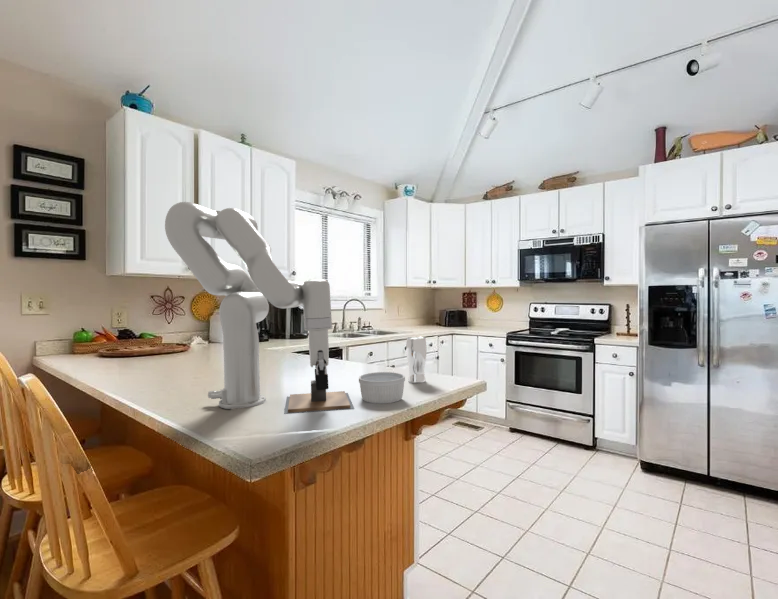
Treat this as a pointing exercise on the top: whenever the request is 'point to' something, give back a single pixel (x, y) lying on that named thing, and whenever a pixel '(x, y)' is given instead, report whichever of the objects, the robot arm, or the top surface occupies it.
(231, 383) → the robot arm
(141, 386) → the top surface
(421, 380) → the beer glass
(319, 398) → the lid
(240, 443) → the top surface
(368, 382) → the ramekin
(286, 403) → the mat
